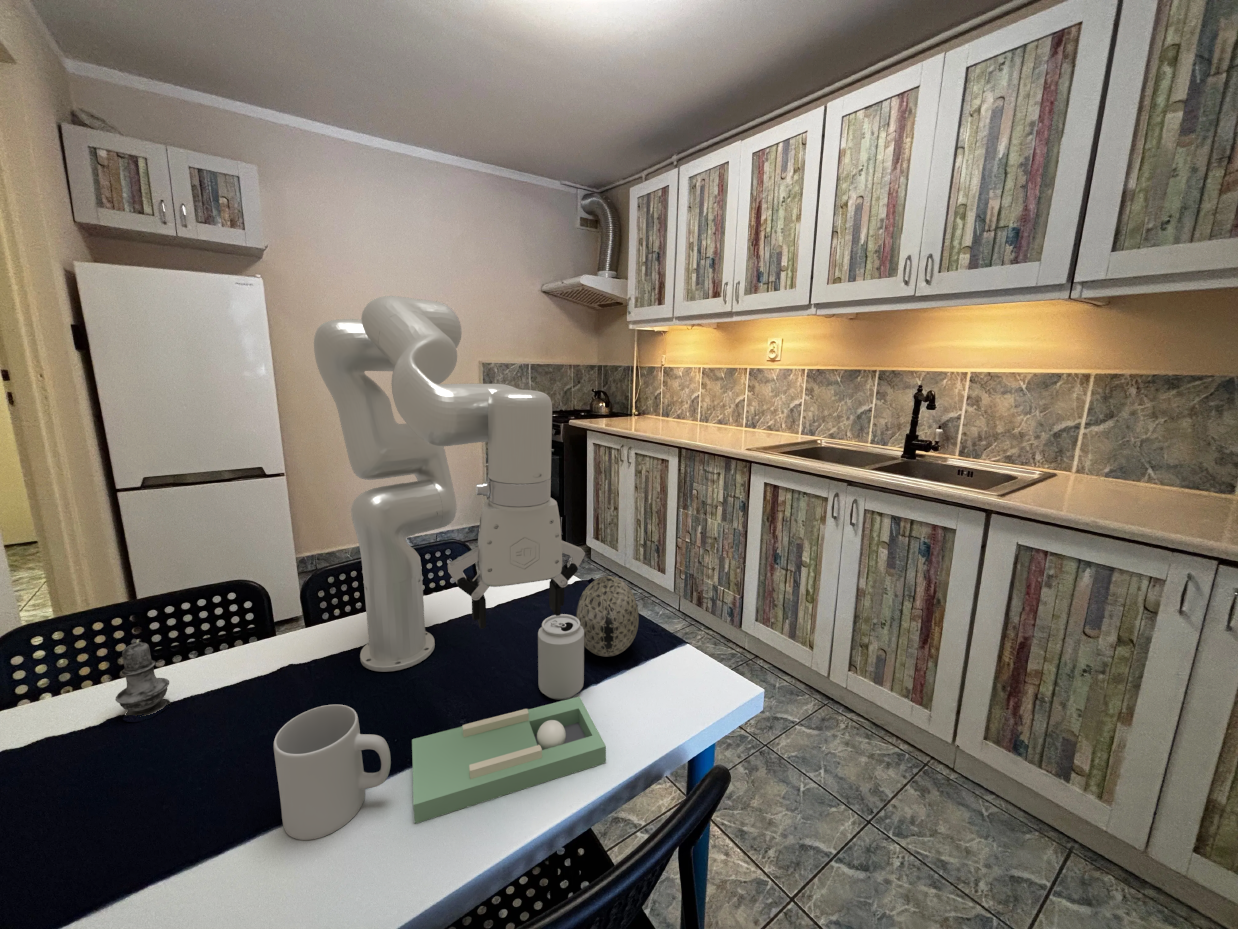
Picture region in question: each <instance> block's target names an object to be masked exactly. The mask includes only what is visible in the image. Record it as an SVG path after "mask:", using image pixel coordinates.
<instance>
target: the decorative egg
mask: <svg viewBox="0 0 1238 929" xmlns="http://www.w3.org/2000/svg"><path fill="white" fill-rule="evenodd" d="M639 616H640V615H639V608H638V603H637V601H636V598H635V595H634V593H633V591H632V590H631V589H630V587H629V585H627V584H626V582H624V581H623V580H622V579H620V578H618V577H615V576H611V575H609V576H608V575H606V576H601V577H599V578H596V579H595V580H593V581H592V582H591V583H589V584H588V585H587V587H585V589H584V590H583V591H582V594H581V595H580V597H579V600H578V603H577V606H576V611H575V617H576V618H577V619H579V621H580V625H581V626H582V627H583V629H584V648H585V649H587V650H588V651H589V652H591V653H592V654H593V655H596V656H599V657H602V658H603V657H605V658H606V657H608V658H609V657H615V656H617V655H619V654H622V653H623V652H624V651H626V650H627V649H629V647H630V646H631V645H632V643H633V642H634V639H635V638H636V635H637V632H638V628H639V624H640V623H639V619H640V617H639Z"/></svg>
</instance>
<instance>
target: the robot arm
mask: <svg viewBox="0 0 1238 929" xmlns="http://www.w3.org/2000/svg"><path fill="white" fill-rule="evenodd" d="M461 339H462V325H461V321H460V319H459V317H458V314H457V313H456V312H455V311H454V310H453V309H452V307H450V306H449V305H448V304H445V303H443V302H441V301H438V300H436V301H435V300H428V299H421V298H415V297H413V298H412V297H406V296H396V295H385V296H379V297H375V298H374V299H372V300H370V301H369V302H368V303H367V304H366V305H365V307H364V308H363V310H362V313H361V319H359V318H358V319H355V318H354V319H353V318H342V319H341V318H340V319H331V320H328V321H325V322H323V323H322V324H321V325H320V326H318V327H317V329H316V331H315V334H314V338H313V352H314V358H315V363H316V365H317V370H318V372H319V374H320V377H321V379H322V381H323V383H324V384H325V386H326V388H327V390H328V391H329V393H330V395H331V397H332V399H333V402H334V403H335V406H336V410H337V413H338V418H339V422H340V426H341V427H340V428H341V432H342V437H343V440H344V444H345V449H346V453H347V454H346V455H347V456H348V461H349V464H350V467H351V470H352V471H353V473H354V474H355V476H356V477H357V478H359V479H361V480H368V481H371V480H384V479H391V478H397V477H405V476H411V475H414V476H415V478H416V480H415V481H410V482H409V481H408V482H402V483H396V484H389V485H384V486H378V487H374V488H371V489H367V490H365V491H363V492H361V493H360V494H358V496H356V497H355V498H354V500H353V502H352V504H351V507H350V513H351V520H352V525H353V528H354V531H355V532H354V533H355V535H356V539H357V543H358V546H359V551H360V552H359V554H360V558H361V566H362V567H361V568H362V576H363V587H364V588H363V589H364V600H365V610H366V612H365V615H366V624H367V635H368V637H367V638H368V642H367V644H365V645H364V646H363V647H362V649H361V650H360V654H359V658H360V659H359V660H360V663H361V665H362V666H363V667H364V668H366V669H368V670H371V671H374V672H381V673H384V672H386V673H387V672H396V671H401V670H404V669H407V668H410V667H411V668H412V667H414V666H416V665H417V664H420V663H421V662H422V661H424V660H426V659H427V658H428V657H429V656H431V654H432V653H433V652H434V650H435V645H436V644H435V638H434V636H433V635H432V634H431V633H430V632H428V631H427V630H426V620H425V604H424V589H423V587H424V586H423V574H422V573H423V572H422V562H421V557H420V555H419V553H418V551H416V550H415V549H414V548H413V547H412V546H410V545H409V544H408V542H407V540H406V539H407V538H409V537H413V536H416V535H419V534H423V533H427V532H430V531H435V530H438V529H442V528H445V527H447V526H449V525H450V524H451V523H453V521H454V519H455V518H456V515H457V509H458V508H457V507H458V506H457V498H456V495H455V488H454V485H453V479H452V476H451V471H450V467H449V463H448V459H447V458H448V457H447V454H446V451H445V450H446V449H445V447H451V446H452V447H453V446H461V445H468V444H477V443H487V455H488V456H487V468H488V471H487V472H488V473H487V474H488V476H486V477H487V478H486V479H485V482H482V483H479V484H478V483H477V484H476V485H475V493H476V494H475V495H476V496H483V497H486V500H484V501H483V503H482V508H481V513H480V519H479V526H478V535H477V536H478V539H477V546H476V547H475V548H472V549H471V550H469V551H467V552H466V553H464V554H462V555H461V556H459V557H457V558H456V559H454V560H452V561H450V562H448V563H447V570H448V571H447V572H448V574H449V575H450V577H451V578H452V580H453V581H454V582H455V583H456V586H457V587H458V588H459V590H461V591H463V592H464V593H466V594H467V595H468V596H470V598H471V616H472V621H477V622H478V627H479V629H480V630H481V629H485V628H486V627H487V600H486V599H487V598H486V597H485V593H486V592H487V590H488V589H489V588H490V587H491V588H492V587H493V588H498V587H500V588H501V587H507V586H513V585H514V586H515V585H522V584H529V583H537V582H543V581H548V580H549V583H548V584H549V585H548V586H549V587H548V588H549V593H548V594H549V596H548V606H549V608H550V609H551V611H552V613H553V615H556V616H559V615H560V614H562V613H561V609H562V608H561V607H563V606H564V605H565V588H566V587H568V584H569V581H570V580H571V579H572V577H573V576H574V575H576V573H577V572H578V570H579V566H580V565H581V564H582V561H583V559H584V557H585V555H586V552H585V550H583V549H582V548H581V547H580V546H577V545H575V544H573V543H569V542H567V541H564V540H563V539H562V529H561V519H560V518H561V517H560V512H559V506H558V502H557V500H555V499H554V498H552V497H551V486H552V485H551V484H552V482H551V481H552V478H551V476H552V438H553V437H552V435H553V434H552V433H553V430H552V429H553V404H552V403H553V402H552V400H551V398H550V396H549V395H548V394H547V393H545V392H543V391H538V390H531V389H520V388H517V387H515V386H512V385H508V384H504V383H443V382H445V381H446V380H447V379H448V378H449V377H450V376H451V375H452V373H453V372H454V370H455V369H456V365H457V362H458V361H457V360H458V350H457V348H458V347H459V345H460V344H461V343H460V342H461ZM365 372H392V375H391V383H390V384H391V394H392V398H393V399H392V400H393V402H394V405H395V408H396V411H397V412H398V414H399V415H400V417H401V418H402V419H403V421H404V422H405V423H398V422H397V421H396V419H395V415H394V411H393V407H392V402H391V400H390V397H389V396H388V394H387V393H386V392H385V391H384V389H383V388H381V386H380V385H379V384H377V383H376V381H375V380H373V379H372V378H371V377H369V376H368V375H367V374H366V373H365ZM563 554H565V555H567V556H569V559H568V561H567V562H565V564H563ZM475 563H477V569H478V571H479V572H478V573H477V574H476V575H475V577H474V578H473V579H471V578H469V577H468V576H467V575H466V574H465V573H464V570H465V569H467V568H469V567H471V566H473V565H474V564H475Z"/></svg>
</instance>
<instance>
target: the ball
mask: <svg viewBox="0 0 1238 929" xmlns="http://www.w3.org/2000/svg"><path fill="white" fill-rule="evenodd" d="M565 739H566V732H565V729H564V727H563V725H562V724H561V723H560V722H558V721H556V720H549V721H546V722H544V723H543V724H542V725H541V726H540V728H539V730H538V732H537V742H538V745H540V746H541V749H542V750H545V749H549V748H552V747H555V746H559V745H562V744H564V742H565Z"/></svg>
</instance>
